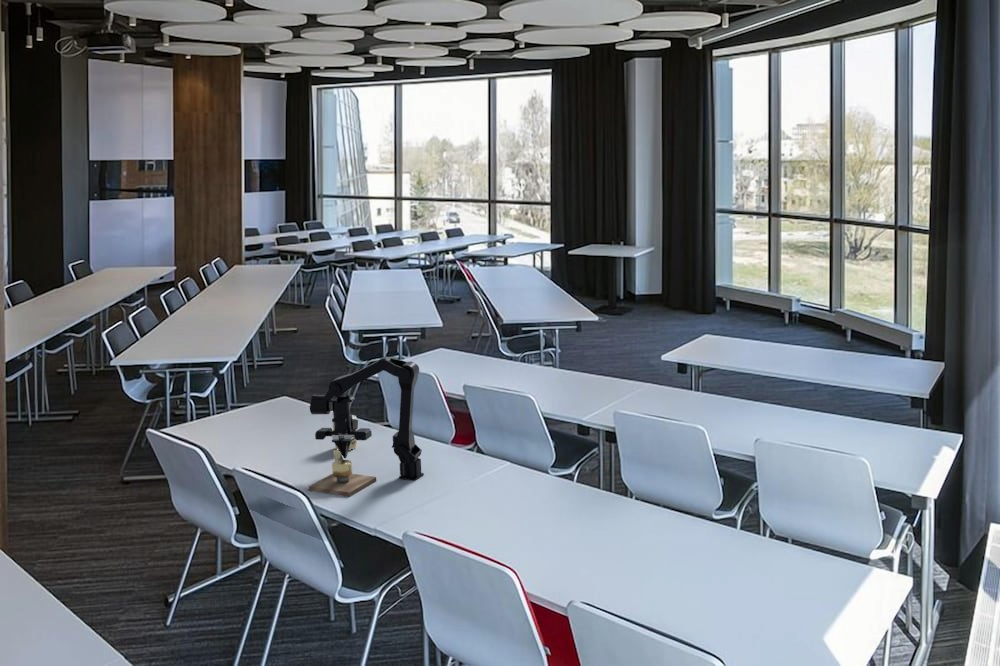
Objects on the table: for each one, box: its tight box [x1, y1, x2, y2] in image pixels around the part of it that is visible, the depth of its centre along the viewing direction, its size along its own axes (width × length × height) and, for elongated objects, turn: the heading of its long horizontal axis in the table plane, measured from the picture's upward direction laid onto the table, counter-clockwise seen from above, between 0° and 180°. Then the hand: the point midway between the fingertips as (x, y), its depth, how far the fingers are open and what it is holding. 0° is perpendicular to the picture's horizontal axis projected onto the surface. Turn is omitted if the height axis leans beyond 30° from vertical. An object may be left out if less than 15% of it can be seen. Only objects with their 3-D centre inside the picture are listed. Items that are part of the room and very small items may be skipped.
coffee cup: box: [332, 414, 358, 450], centre depth 347 cm, size 9×9×12 cm
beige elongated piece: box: [331, 449, 353, 478], centre depth 311 cm, size 18×6×4 cm, turn 17°
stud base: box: [308, 473, 377, 498], centre depth 306 cm, size 16×16×4 cm
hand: (345, 458), depth 317 cm, fingers closed
